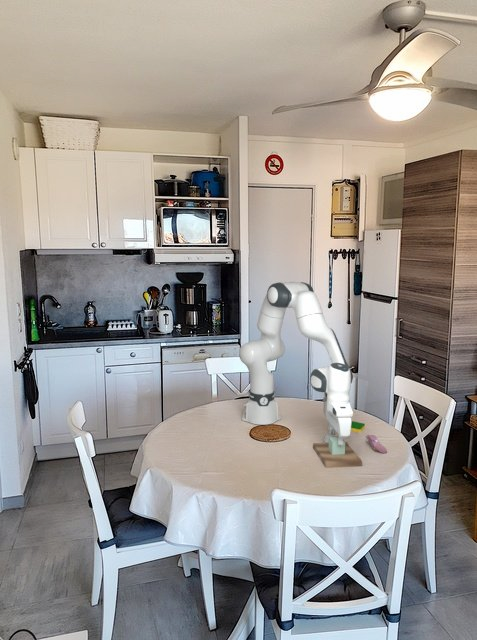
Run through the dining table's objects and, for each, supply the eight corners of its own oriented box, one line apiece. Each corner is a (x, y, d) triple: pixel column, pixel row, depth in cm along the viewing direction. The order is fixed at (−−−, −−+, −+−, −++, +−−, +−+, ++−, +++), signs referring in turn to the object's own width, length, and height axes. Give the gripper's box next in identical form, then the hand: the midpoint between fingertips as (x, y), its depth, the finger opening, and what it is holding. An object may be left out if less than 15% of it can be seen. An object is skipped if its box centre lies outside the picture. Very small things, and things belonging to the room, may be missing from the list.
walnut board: (313, 447, 198) (313, 443, 198) (346, 446, 199) (346, 441, 199) (325, 467, 180) (326, 462, 180) (361, 466, 182) (362, 461, 181)
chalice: (337, 444, 202) (339, 403, 199) (320, 442, 203) (322, 401, 200) (337, 437, 209) (338, 397, 206) (321, 436, 210) (322, 396, 207)
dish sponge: (335, 422, 228) (336, 417, 227) (364, 428, 221) (365, 423, 220) (330, 427, 222) (330, 422, 221) (360, 433, 214) (360, 428, 214)
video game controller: (368, 447, 202) (362, 433, 201) (378, 442, 202) (371, 428, 201) (378, 458, 192) (371, 443, 191) (388, 452, 193) (381, 438, 191)
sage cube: (328, 449, 192) (328, 437, 191) (340, 448, 192) (341, 436, 192) (332, 454, 187) (332, 442, 186) (344, 454, 187) (345, 441, 187)
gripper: (322, 396, 196) (321, 429, 199) (338, 414, 176) (336, 450, 179) (337, 396, 197) (335, 428, 199) (354, 414, 177) (352, 449, 179)
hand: (336, 438), depth 189 cm, fingers open, 8 cm apart
